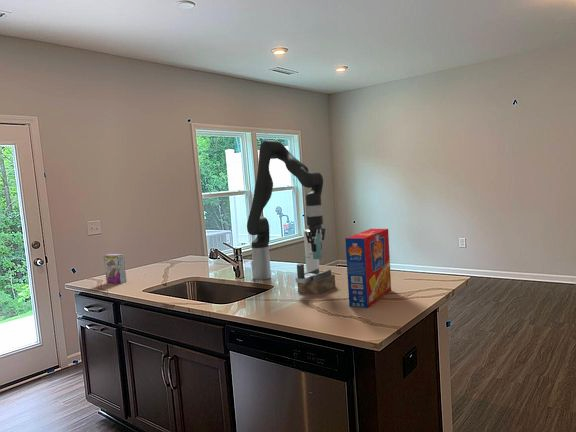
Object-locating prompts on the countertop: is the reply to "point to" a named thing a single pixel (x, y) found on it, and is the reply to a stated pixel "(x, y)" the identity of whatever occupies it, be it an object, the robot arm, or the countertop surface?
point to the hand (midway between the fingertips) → (316, 250)
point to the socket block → (318, 282)
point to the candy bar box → (115, 268)
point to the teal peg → (317, 248)
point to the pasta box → (368, 267)
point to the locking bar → (301, 276)
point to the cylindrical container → (310, 256)
